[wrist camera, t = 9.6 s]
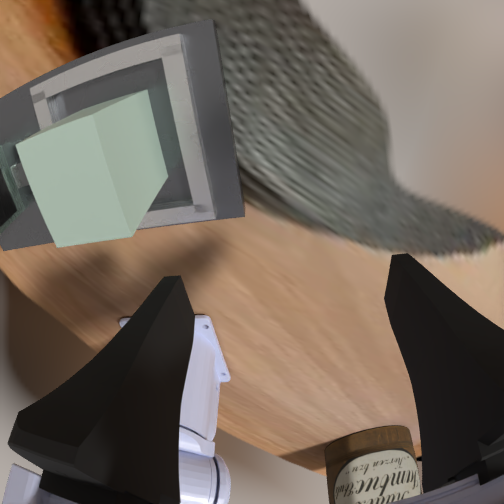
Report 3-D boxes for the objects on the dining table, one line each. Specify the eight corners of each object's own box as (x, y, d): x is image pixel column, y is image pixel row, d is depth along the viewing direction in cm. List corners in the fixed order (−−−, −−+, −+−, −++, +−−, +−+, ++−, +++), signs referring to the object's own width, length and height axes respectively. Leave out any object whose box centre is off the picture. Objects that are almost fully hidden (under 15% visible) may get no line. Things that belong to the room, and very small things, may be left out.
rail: (215, 20, 13) (185, 0, 7) (245, 208, 19) (239, 288, 13) (-37, 125, 14) (-101, 164, 9) (9, 244, 21) (-36, 300, 15)
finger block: (147, 89, 14) (92, 114, 9) (168, 176, 17) (132, 237, 12) (76, 111, 14) (9, 147, 9) (100, 189, 17) (51, 248, 12)
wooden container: (417, 416, 38) (442, 543, 20) (401, 445, 47) (416, 544, 29) (323, 436, 40) (332, 570, 23) (325, 460, 49) (331, 563, 31)
